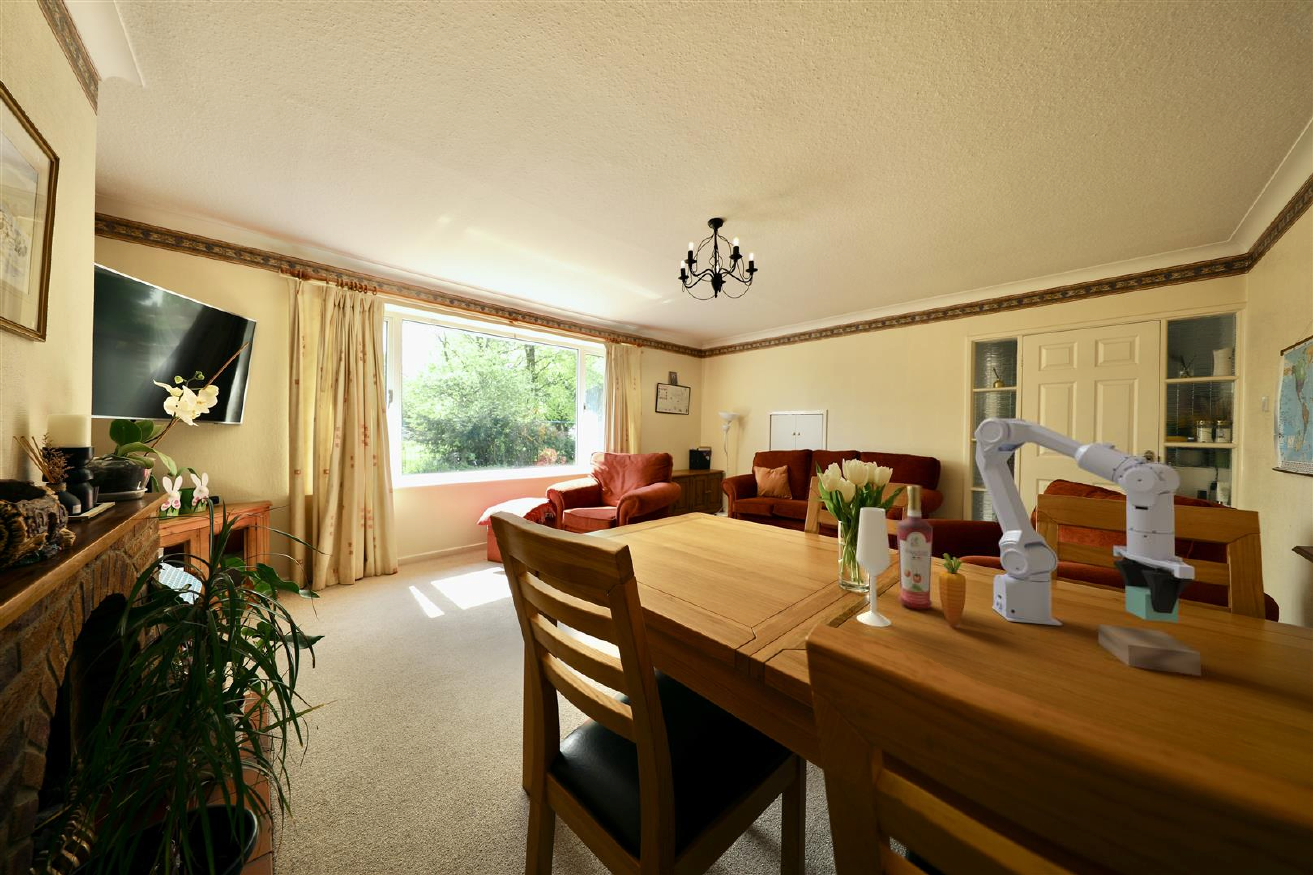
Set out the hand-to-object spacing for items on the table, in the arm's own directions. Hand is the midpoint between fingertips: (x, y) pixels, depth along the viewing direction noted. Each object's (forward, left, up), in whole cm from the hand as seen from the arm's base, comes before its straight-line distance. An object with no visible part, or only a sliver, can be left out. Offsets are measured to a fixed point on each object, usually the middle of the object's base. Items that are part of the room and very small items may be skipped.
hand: (1150, 606), depth 79 cm
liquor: (-33, +16, -9) cm, 38 cm away
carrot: (-29, +5, -9) cm, 31 cm away
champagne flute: (-44, +5, -9) cm, 45 cm away
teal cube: (0, 0, -2) cm, 2 cm away
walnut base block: (-1, -1, -9) cm, 9 cm away
